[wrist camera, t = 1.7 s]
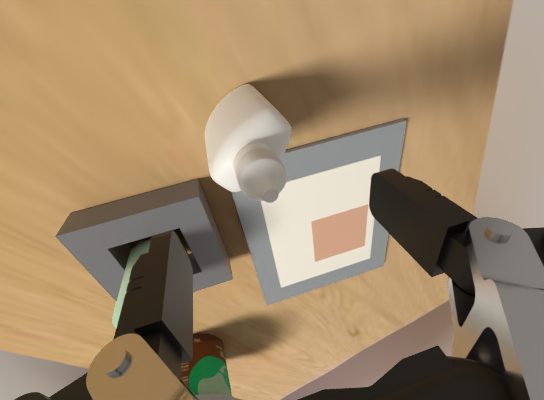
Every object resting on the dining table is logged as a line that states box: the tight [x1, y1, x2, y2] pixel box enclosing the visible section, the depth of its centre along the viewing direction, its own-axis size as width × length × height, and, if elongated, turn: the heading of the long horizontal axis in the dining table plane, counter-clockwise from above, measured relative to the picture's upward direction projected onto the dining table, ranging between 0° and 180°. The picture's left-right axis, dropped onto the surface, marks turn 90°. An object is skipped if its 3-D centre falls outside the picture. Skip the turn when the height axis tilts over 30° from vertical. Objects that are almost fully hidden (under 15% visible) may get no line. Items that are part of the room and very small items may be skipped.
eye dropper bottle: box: [204, 84, 292, 203], centre depth 16 cm, size 4×6×12 cm
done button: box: [112, 239, 188, 328], centre depth 21 cm, size 5×5×6 cm
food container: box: [181, 334, 237, 400], centre depth 34 cm, size 12×6×10 cm, turn 14°
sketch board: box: [231, 119, 407, 305], centre depth 30 cm, size 22×18×1 cm
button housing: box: [55, 179, 233, 301], centre depth 24 cm, size 11×11×3 cm
